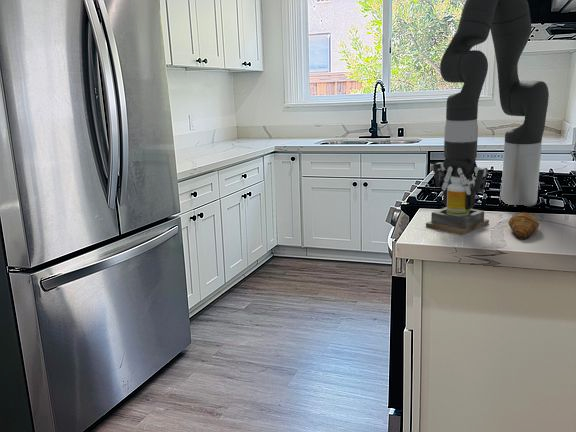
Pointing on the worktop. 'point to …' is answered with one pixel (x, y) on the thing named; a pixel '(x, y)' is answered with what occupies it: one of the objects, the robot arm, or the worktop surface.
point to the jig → (457, 221)
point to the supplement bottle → (456, 198)
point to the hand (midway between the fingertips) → (458, 206)
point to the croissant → (523, 225)
